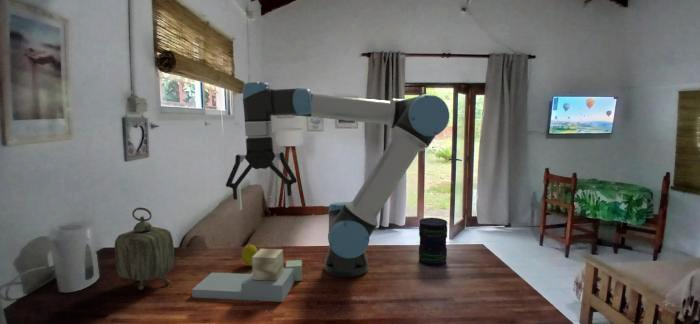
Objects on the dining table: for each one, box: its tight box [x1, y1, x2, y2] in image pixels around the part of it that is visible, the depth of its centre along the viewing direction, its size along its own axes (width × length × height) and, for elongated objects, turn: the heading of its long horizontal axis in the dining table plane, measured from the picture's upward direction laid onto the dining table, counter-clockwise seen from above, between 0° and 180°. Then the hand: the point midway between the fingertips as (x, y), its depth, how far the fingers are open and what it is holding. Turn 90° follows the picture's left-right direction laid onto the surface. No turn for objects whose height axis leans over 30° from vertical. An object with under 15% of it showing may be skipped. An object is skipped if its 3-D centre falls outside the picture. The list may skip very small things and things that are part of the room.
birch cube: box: [251, 248, 284, 281], centre depth 110 cm, size 7×7×7 cm
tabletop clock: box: [114, 207, 175, 291], centre depth 113 cm, size 14×9×25 cm, turn 74°
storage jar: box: [418, 217, 448, 268], centre depth 132 cm, size 10×10×15 cm
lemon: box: [241, 243, 259, 267], centre depth 130 cm, size 6×6×8 cm
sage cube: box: [285, 259, 303, 282], centre depth 120 cm, size 5×5×5 cm
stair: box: [191, 267, 295, 303], centre depth 111 cm, size 27×12×5 cm, turn 83°
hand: (263, 208), depth 110 cm, fingers open, 13 cm apart
